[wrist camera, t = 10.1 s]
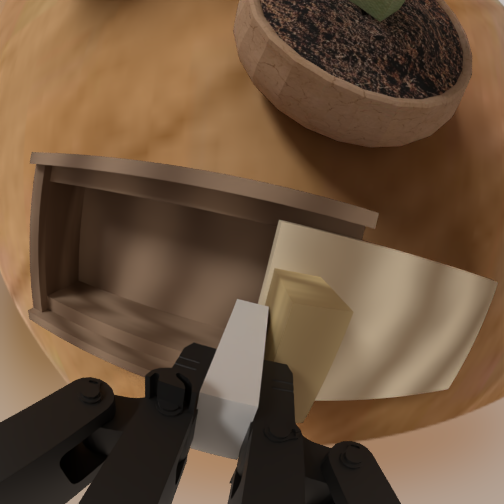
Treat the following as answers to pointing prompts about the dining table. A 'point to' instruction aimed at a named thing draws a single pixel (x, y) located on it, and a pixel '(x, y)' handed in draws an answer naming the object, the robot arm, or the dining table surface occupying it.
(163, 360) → the box
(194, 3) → the dining table surface
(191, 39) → the dining table surface
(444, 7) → the potted plant
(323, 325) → the lid
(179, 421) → the robot arm
